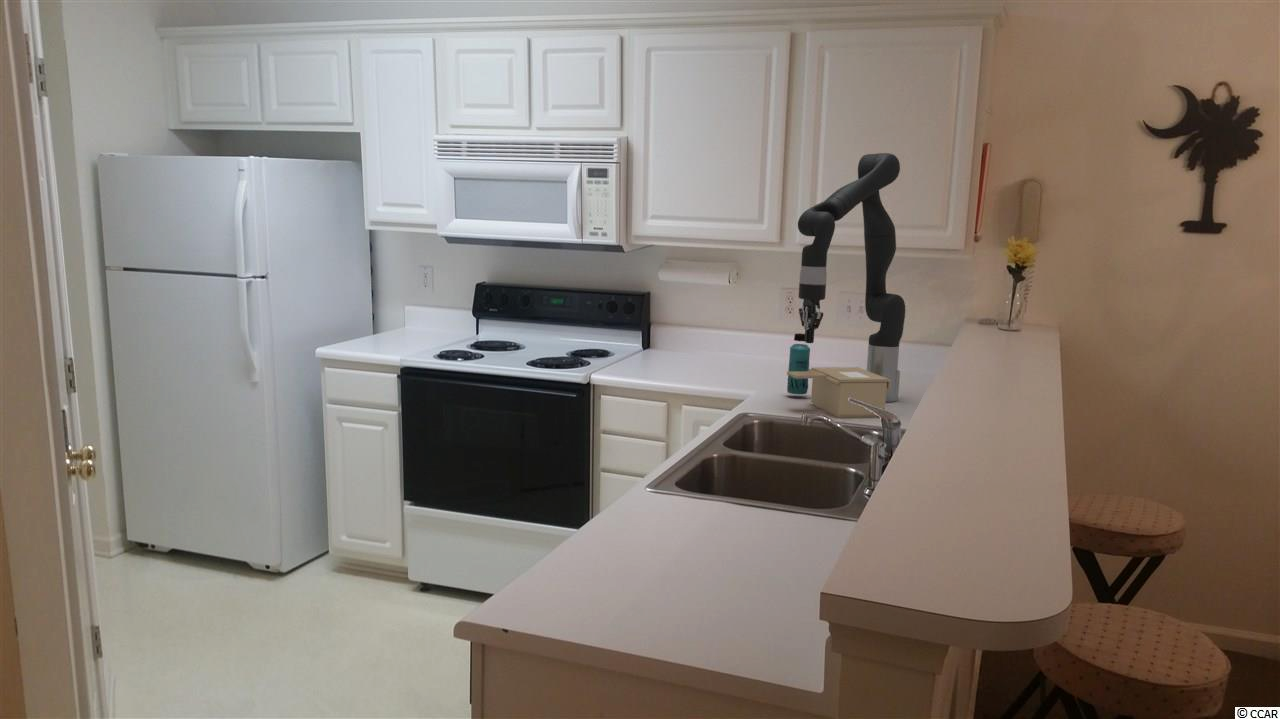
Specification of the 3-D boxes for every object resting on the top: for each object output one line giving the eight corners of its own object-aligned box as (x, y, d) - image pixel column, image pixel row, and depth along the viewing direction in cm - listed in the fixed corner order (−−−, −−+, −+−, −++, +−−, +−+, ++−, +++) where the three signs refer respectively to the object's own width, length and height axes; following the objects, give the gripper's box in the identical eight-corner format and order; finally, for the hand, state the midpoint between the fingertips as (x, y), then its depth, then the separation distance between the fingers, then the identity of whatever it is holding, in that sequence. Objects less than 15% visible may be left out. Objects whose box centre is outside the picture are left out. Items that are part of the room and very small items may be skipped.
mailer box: (854, 403, 287) (856, 370, 286) (884, 417, 268) (886, 382, 267) (811, 403, 284) (812, 370, 283) (838, 417, 265) (840, 382, 264)
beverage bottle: (782, 395, 296) (785, 332, 293) (800, 394, 298) (804, 332, 295) (793, 399, 290) (797, 335, 287) (812, 398, 292) (815, 334, 289)
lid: (858, 376, 287) (859, 366, 286) (890, 388, 267) (891, 378, 266) (778, 376, 281) (778, 367, 281) (804, 389, 261) (805, 379, 261)
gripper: (834, 284, 262) (830, 346, 265) (815, 281, 275) (812, 339, 278) (809, 284, 261) (805, 346, 263) (791, 280, 273) (788, 339, 276)
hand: (808, 342), depth 270 cm, fingers closed
